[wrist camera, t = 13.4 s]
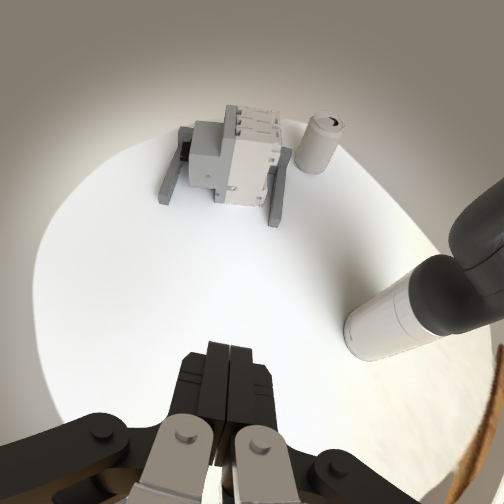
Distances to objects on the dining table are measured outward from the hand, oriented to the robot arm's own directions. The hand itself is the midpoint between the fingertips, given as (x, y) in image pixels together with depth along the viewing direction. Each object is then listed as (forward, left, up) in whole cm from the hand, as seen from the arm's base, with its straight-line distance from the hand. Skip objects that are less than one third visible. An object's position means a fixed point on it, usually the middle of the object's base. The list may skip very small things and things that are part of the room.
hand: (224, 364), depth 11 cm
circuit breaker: (+4, -34, -33) cm, 47 cm away
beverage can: (-12, -44, -33) cm, 56 cm away
